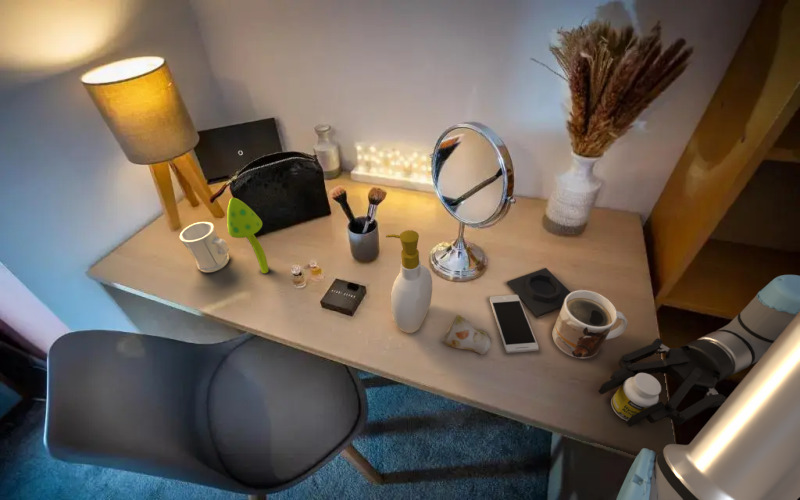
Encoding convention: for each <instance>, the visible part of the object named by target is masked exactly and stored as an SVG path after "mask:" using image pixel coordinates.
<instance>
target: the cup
mask: <svg viewBox="0 0 800 500" xmlns="http://www.w3.org/2000/svg"><path fill="white" fill-rule="evenodd" d="M178 236H179V240H180V241H181V243H182V244H183V246H185V248H186V249H187V250H188V252H189V253H190V255H191V256H192V258H193V259H194V260H195V262H196V267H197V268H198V270H199V271H200V272H202V273H214V272H217V271H219V270H222V269H223V268H224V267H225V266H226V265H227V264H228V262H229V261H230V256H229V250H230V249H229V245H228V243H227V241H226V240H225V239H223V238H219V235H218V233H217V231H216V228H215V226H214V224H213V223H212V222H210V221H209V222H208V221H199V222H195V223H192V224H190V225H188V226H186V227H185V228H184V229H183V230H182V231H181V232H180V233H179V235H178Z"/></svg>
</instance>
